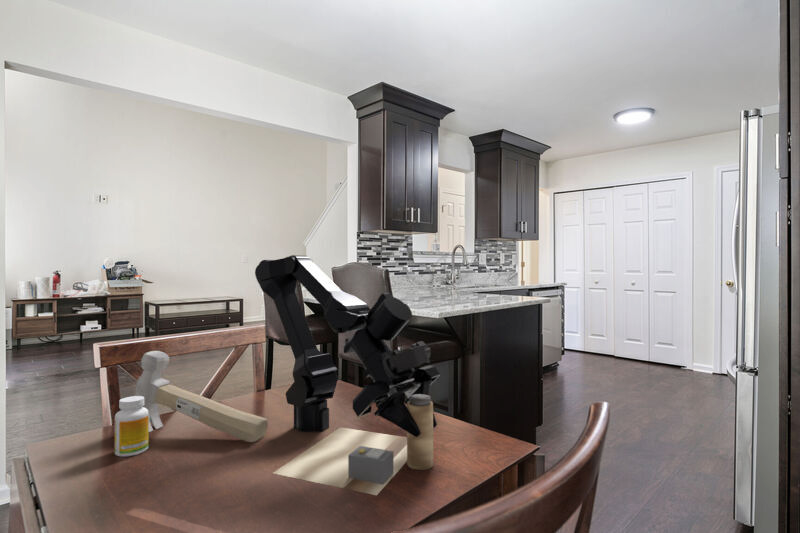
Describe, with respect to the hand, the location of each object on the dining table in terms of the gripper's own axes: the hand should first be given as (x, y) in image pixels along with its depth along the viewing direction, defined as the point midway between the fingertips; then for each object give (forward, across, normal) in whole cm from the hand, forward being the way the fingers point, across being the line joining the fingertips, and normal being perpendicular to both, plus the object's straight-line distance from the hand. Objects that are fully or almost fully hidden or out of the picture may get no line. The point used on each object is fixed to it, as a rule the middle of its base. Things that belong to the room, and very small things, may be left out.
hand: (427, 431), depth 73 cm
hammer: (-27, -15, +37) cm, 49 cm away
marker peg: (+4, 0, +6) cm, 7 cm away
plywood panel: (-4, -4, +14) cm, 15 cm away
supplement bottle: (-29, -27, +39) cm, 55 cm away
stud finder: (0, -8, +8) cm, 11 cm away
